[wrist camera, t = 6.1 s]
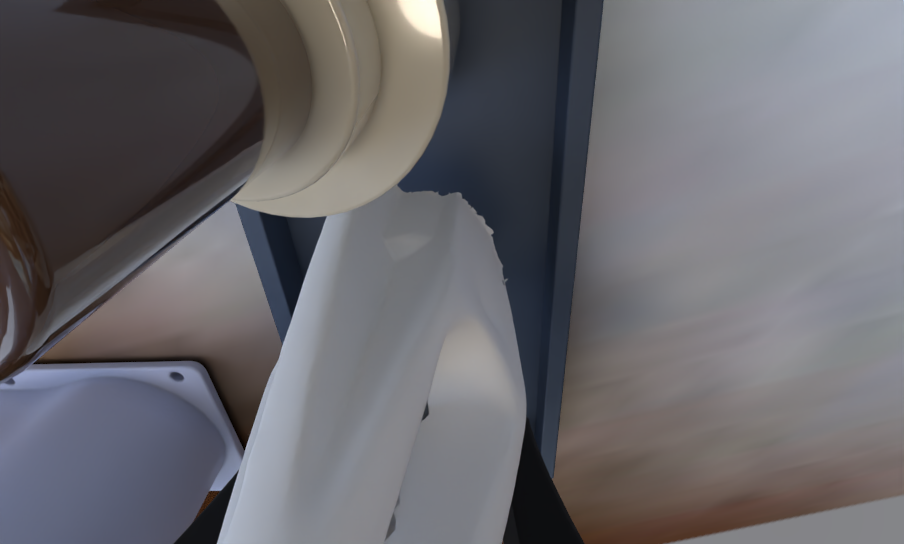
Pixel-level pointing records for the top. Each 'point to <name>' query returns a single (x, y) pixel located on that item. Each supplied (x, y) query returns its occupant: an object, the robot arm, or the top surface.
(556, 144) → the tray
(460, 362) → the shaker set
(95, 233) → the bottle
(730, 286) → the top surface
